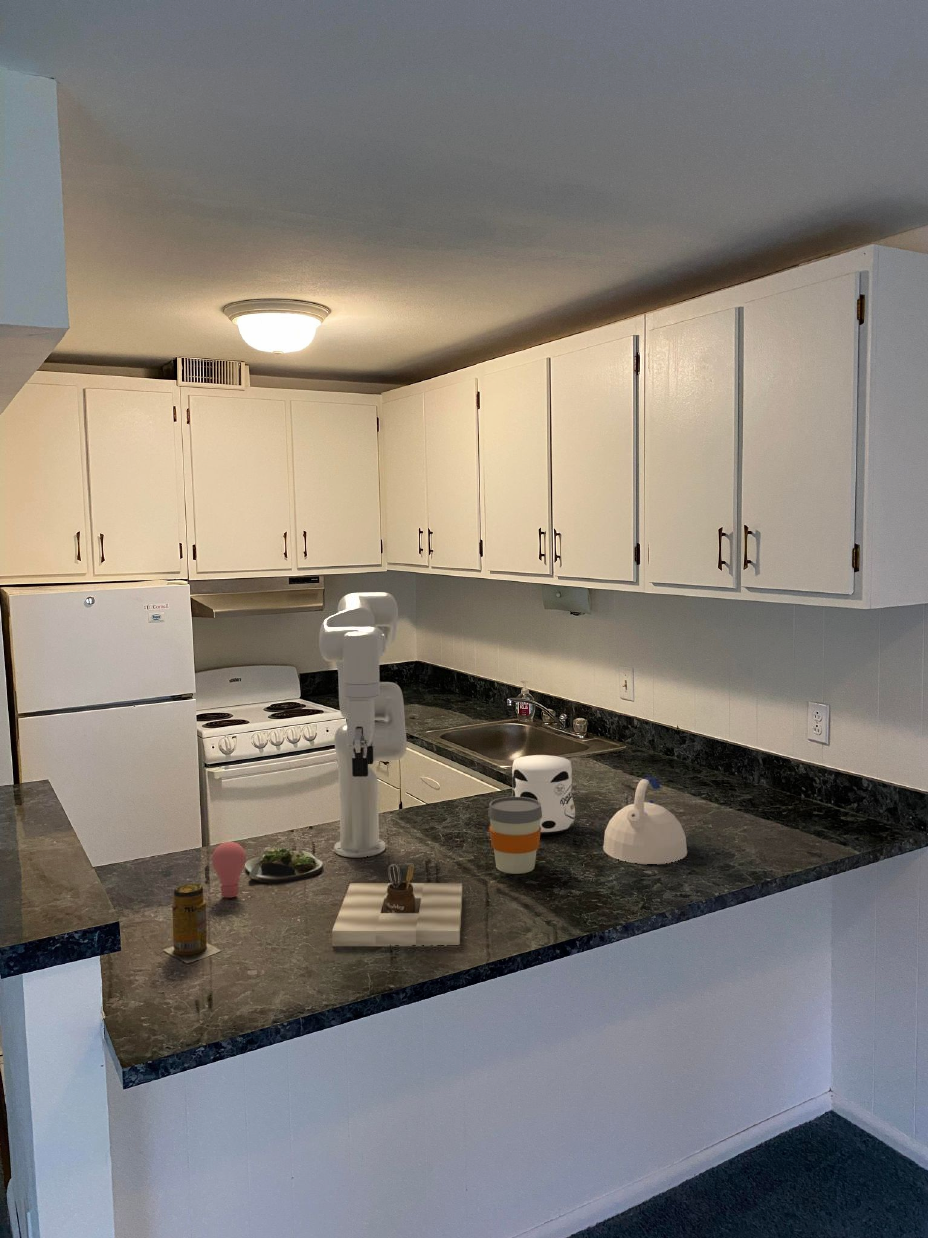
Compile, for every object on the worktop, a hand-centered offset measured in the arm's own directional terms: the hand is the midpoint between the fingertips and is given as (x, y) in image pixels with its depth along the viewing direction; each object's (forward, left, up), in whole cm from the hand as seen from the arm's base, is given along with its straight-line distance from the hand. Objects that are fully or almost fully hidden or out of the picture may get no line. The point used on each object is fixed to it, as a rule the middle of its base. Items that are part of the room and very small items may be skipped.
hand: (363, 770), depth 195 cm
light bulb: (0, -29, -28) cm, 41 cm away
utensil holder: (+12, +9, -28) cm, 32 cm away
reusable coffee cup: (-18, +33, -28) cm, 47 cm away
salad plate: (-16, -21, -28) cm, 39 cm away
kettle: (-29, +65, -28) cm, 76 cm away
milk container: (-46, +41, -28) cm, 68 cm away
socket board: (+12, +9, -28) cm, 31 cm away
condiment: (+26, -29, -28) cm, 48 cm away
